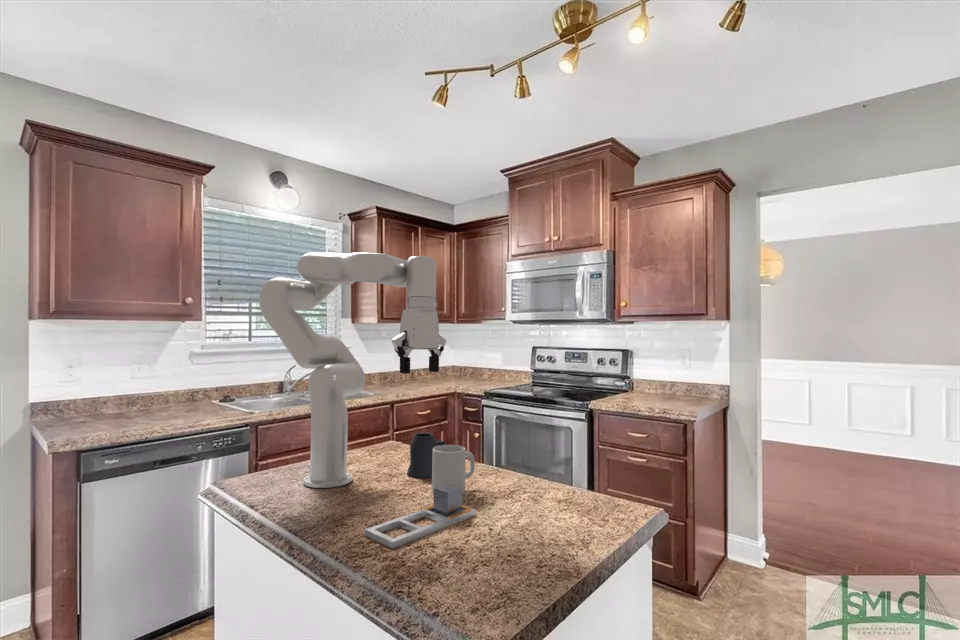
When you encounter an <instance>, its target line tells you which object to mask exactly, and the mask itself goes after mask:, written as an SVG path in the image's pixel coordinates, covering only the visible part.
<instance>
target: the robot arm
mask: <svg viewBox="0 0 960 640" xmlns="http://www.w3.org/2000/svg"><path fill="white" fill-rule="evenodd" d="M296 270H297V272H298V275H299V276H300V277H301V279H303V280H298V279H293V278H288V277H287V278H285V277H275V278H271V279H269V280H267V281H266V282H264V284H263V285H262V286H261V288H260V291H259V292H260V293H259V297H258V298H259V299H258V302H259V308H260V312H261V314H262V316H263V318H264V321H266V322H267V324H268V325H269V327H271V329H272V330H273V331H274V333H275V334H276V335H277V337H279V339H280V341H281V342H282V344H283V345H284V347H285V348H286V349H287V351H288V352H289V354H290V356H292V358H293V360H294V361H295V362H296V364H297V365H298V366H299V367H301V368H303V369H309V370H310V369H313V370H312V372H311V373H310V375H309V376H308V377H309V378H308V382H307V386H308V395H309V400H310V450H309V451H310V453H309V454H310V457H309V463H307V465H306V469H307V470H309V475H306V476H305V477H303V481H302V483H303V485H304V486H305V487H308V488H314V489H315V488H316V489H330V488H336V487H342V486H344V485H348V484H349V483H351V482H353V481H352V480H353V475H352V473H350V472H348V471H347V470H348V469H347V468H348V465H347V464H348V434H349V432H348V431H349V429H348V427H349V423H348V421H349V417H348V415H349V413H348V408H347V404H346V401H345V399H344V398H346V397H350V396H354V395H355V396H356V395H357V394H359V393H360V392H361V391H362V390H364V387H365V386H366V379H367V378H366V374H365V372H364V369H363V367H362V366H361V364H360V363H359V362H358V360H357V359H356V358H355V356H354V355H353V354H352V352H351V351H350V350H349V348H348V347H347V345H346V344H345V343H344V342H343V341H342V340H341V339H339V338H338V337H337V336H333V335H330V334H319V333H317V332H315V330H314V329H313V328H312V327H311V325H310V324H309V322H308V321H307V320H306V319H305V317H303V316H302V315H301V314H300V313H298V312H297V311H296V310H303V311H304V310H307V311H308V310H311V309H313V308H315V307H317V306H318V305H320V304H321V302H322V301H324V300H325V299H326V298H327V297H328V296H329V295H330V294H331V293H332V292H333V291H335V290H336V288H338V287H339V285H345V286H351V285H353V284H355V282H359V283H376V284H381V285H387V286H390V287H394V288H406V290H405V293H406V294H405V297H406V298H405V300H406V301H405V309H403V311H402V315H401V319H400V326H399V334H398V335H396V336H395V337H393V338H392V339H391V344H392V346H393V347H394V352H395V353H396V354H397V357H399V373H400V374H404V375H406V374H407V375H408V374H410V373H411V357H410V354H411V353H412V352H413V350H427V351H428V352H429V354H430V356H429V357H428V371H429V372H432V373H438V372H439V371H440V357H441V356H442V352H443V351H444V349H445V346H446V343H447V340H446V338H444V337H443V336H441V335H440V326H439V324H440V323H439V317H438V312H437V310H436V307H438V302H437V299H436V298H437V262H436V260H435V258H434V257H431V256H427V255H426V256H425V255H415V256H410V257H409V258H408V259H403V258H399V257H398V256H393V255H391V254H387V253H382V252H381V253H380V252H363V251H362V252H350V253H340V252H339V253H336V252H314V251H313V252H308V253H305V254H303V255H302V256H300V257H299V259H298V261H297V265H296ZM304 280H305V281H304Z"/></svg>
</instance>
